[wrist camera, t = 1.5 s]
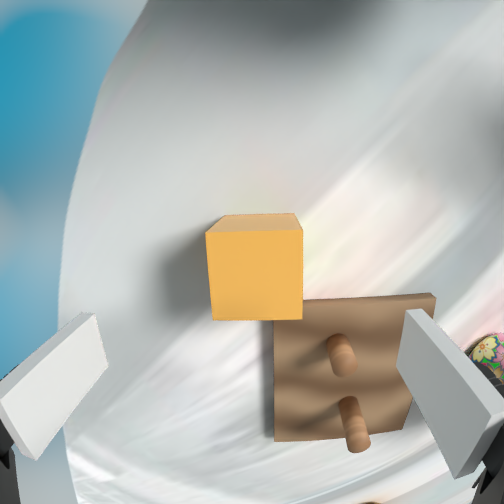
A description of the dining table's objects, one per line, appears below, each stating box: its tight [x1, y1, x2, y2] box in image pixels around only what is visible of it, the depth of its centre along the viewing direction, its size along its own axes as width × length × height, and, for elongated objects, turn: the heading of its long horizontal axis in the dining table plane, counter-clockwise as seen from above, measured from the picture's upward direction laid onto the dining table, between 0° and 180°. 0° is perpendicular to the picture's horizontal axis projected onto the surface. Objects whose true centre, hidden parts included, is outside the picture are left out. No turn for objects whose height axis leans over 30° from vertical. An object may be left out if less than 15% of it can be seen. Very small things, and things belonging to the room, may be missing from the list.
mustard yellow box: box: [205, 213, 303, 320], centre depth 24 cm, size 6×6×8 cm
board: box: [273, 293, 436, 453], centre depth 26 cm, size 18×16×8 cm
